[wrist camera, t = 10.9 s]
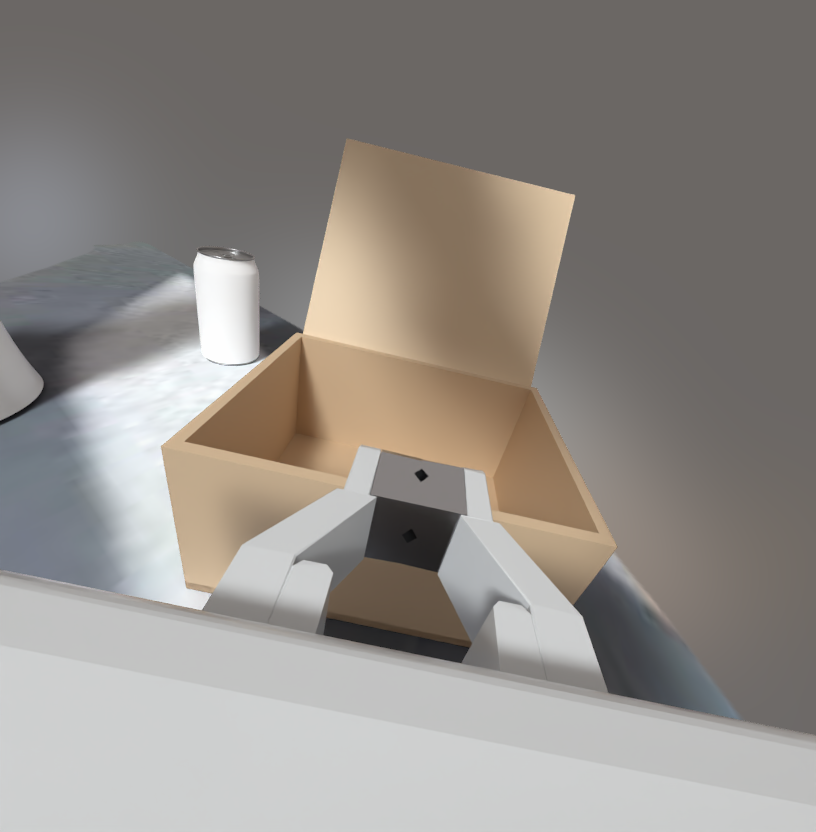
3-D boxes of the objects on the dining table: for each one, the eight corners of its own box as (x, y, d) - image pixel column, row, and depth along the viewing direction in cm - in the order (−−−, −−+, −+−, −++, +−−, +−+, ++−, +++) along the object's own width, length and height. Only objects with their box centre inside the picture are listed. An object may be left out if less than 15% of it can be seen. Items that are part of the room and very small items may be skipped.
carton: (530, 660, 21) (617, 547, 16) (186, 588, 20) (161, 446, 15) (496, 479, 34) (536, 388, 29) (291, 433, 34) (296, 332, 29)
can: (249, 343, 49) (247, 248, 43) (267, 364, 45) (267, 262, 39) (195, 346, 45) (185, 242, 39) (209, 369, 41) (200, 257, 35)
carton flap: (575, 195, 29) (572, 198, 30) (346, 138, 29) (347, 142, 29) (530, 386, 29) (529, 387, 30) (302, 333, 29) (304, 334, 29)
